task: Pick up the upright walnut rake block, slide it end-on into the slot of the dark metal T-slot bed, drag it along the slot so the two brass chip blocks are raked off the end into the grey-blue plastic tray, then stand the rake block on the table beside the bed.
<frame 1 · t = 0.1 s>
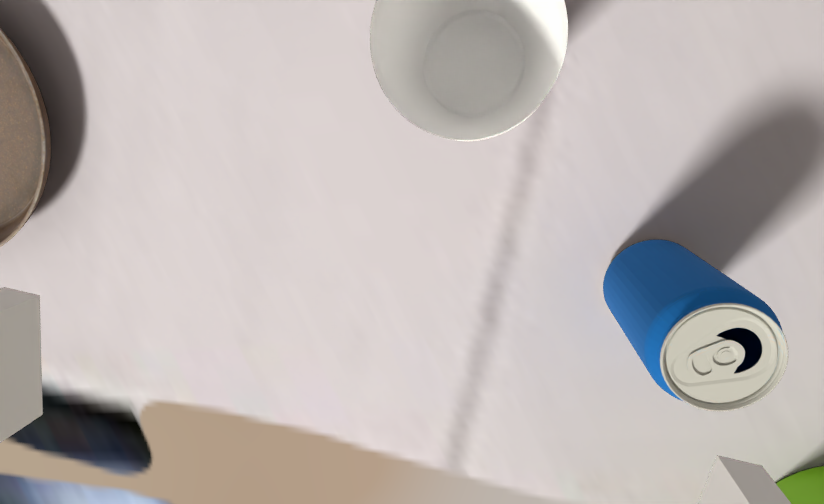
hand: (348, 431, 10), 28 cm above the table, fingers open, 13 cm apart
cup: (473, 64, 34), on the table
beverage can: (648, 281, 36), on the table
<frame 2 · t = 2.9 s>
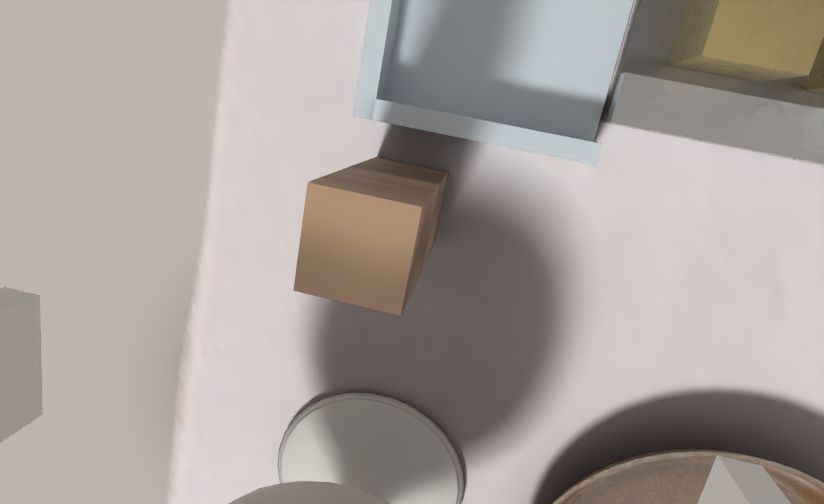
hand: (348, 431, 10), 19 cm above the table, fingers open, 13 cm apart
rake block: (405, 200, 29), on the table
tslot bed: (808, 46, 24), on the table
chalice: (370, 471, 34), on the table
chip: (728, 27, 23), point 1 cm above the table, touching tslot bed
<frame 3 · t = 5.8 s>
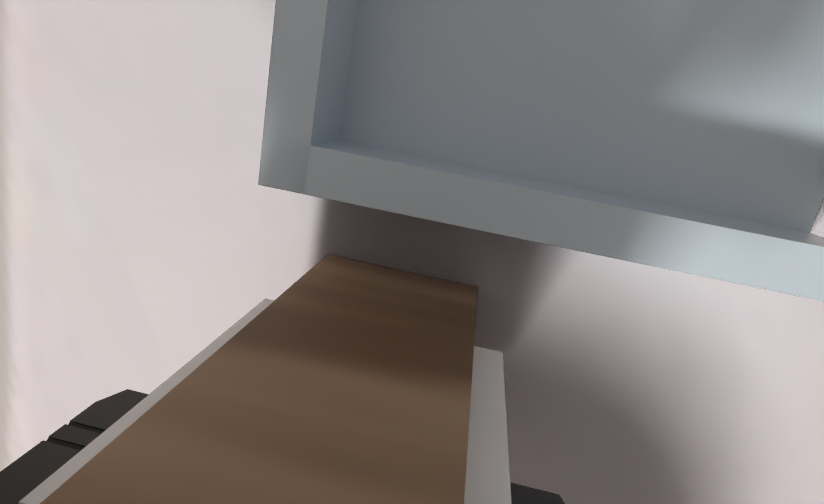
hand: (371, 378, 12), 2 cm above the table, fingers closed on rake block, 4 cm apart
rake block: (389, 339, 14), on the table, touching gripper
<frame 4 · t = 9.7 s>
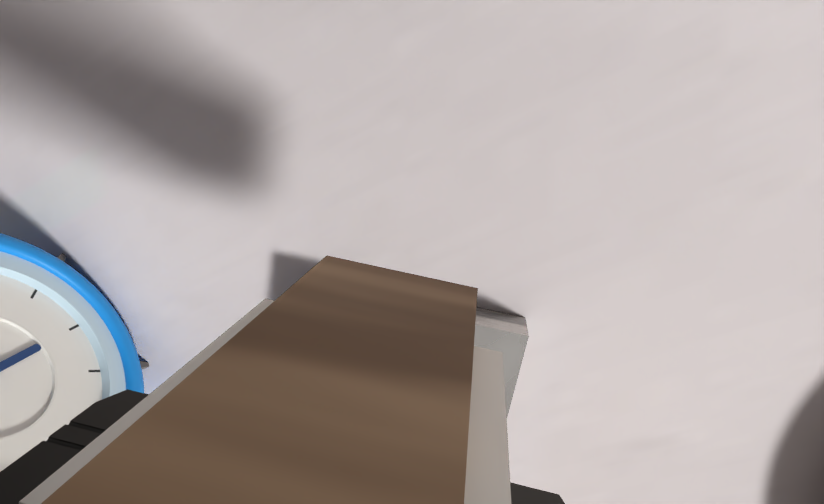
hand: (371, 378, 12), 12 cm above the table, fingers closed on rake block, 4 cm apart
rake block: (388, 341, 14), point 10 cm above the table, touching gripper
alarm clock: (81, 328, 27), on the table
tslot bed: (388, 440, 26), on the table
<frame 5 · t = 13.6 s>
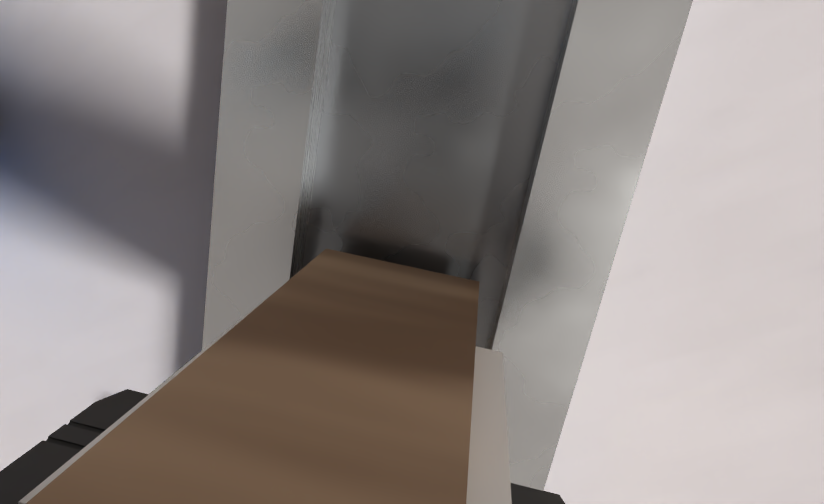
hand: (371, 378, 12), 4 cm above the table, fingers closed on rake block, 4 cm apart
rake block: (388, 335, 14), point 2 cm above the table, touching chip, gripper
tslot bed: (410, 243, 15), on the table
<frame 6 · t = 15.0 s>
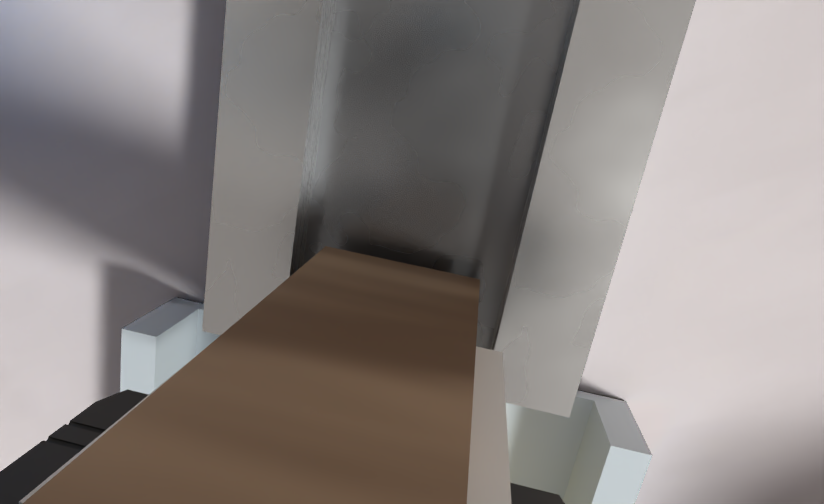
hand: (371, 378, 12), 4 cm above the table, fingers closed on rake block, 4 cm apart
rake block: (389, 333, 14), point 2 cm above the table, touching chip, gripper
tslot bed: (444, 63, 13), on the table
when the fingers open (3 cm above the table, at t = 20.2 s): rake block drops 1 cm, on the table.
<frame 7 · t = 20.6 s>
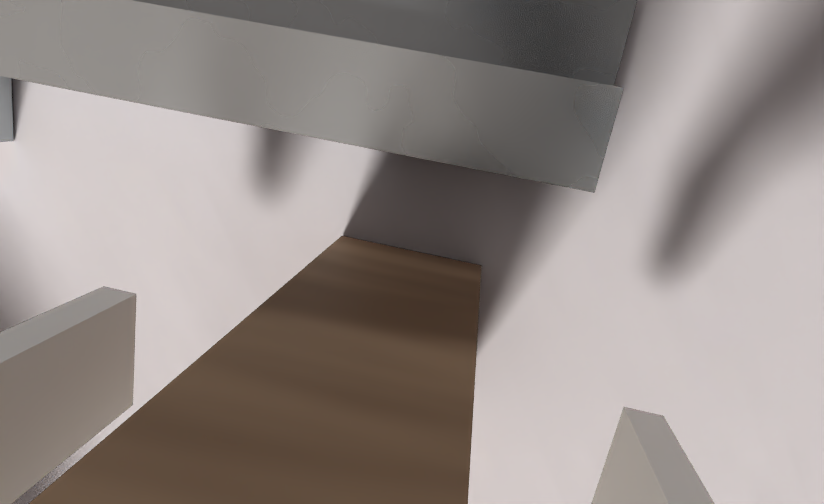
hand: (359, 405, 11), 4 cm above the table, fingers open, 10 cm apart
rake block: (398, 315, 15), on the table
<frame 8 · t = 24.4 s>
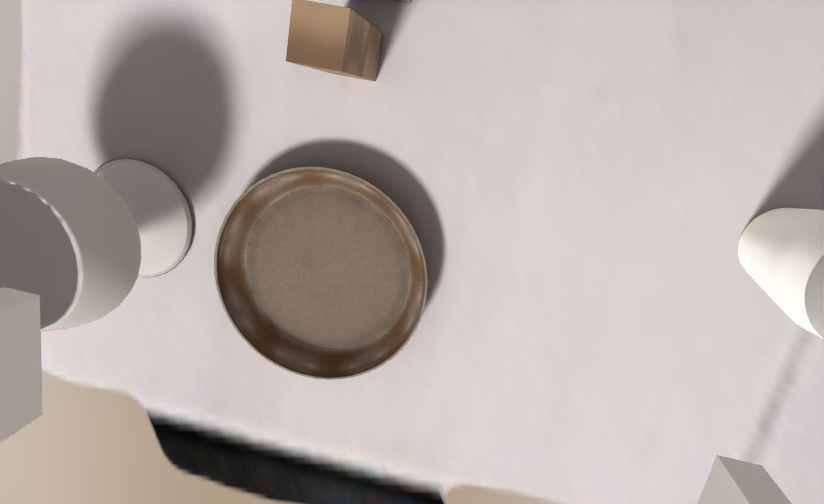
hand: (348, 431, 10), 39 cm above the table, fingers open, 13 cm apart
rake block: (357, 53, 45), on the table
cup: (777, 245, 45), on the table
plant saucer: (328, 268, 51), on the table
chalice: (139, 218, 53), on the table
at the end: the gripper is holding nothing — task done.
